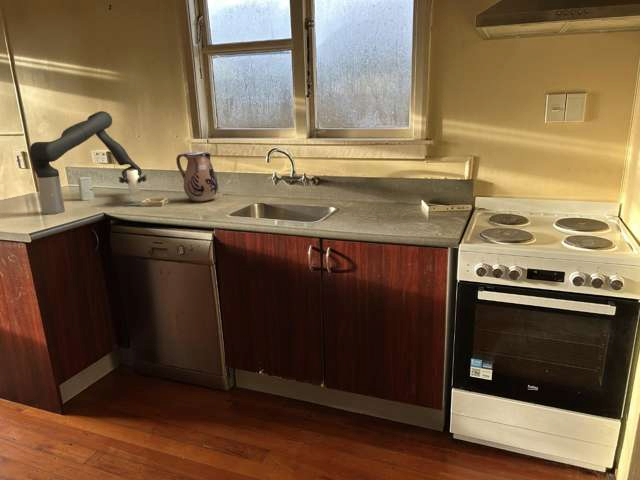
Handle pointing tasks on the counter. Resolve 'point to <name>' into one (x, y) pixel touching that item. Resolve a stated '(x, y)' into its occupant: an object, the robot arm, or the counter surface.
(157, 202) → the dispenser tray
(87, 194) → the skincare box
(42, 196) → the robot arm
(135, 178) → the white pillar candle
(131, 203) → the tear pad
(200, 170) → the ceramic pitcher
